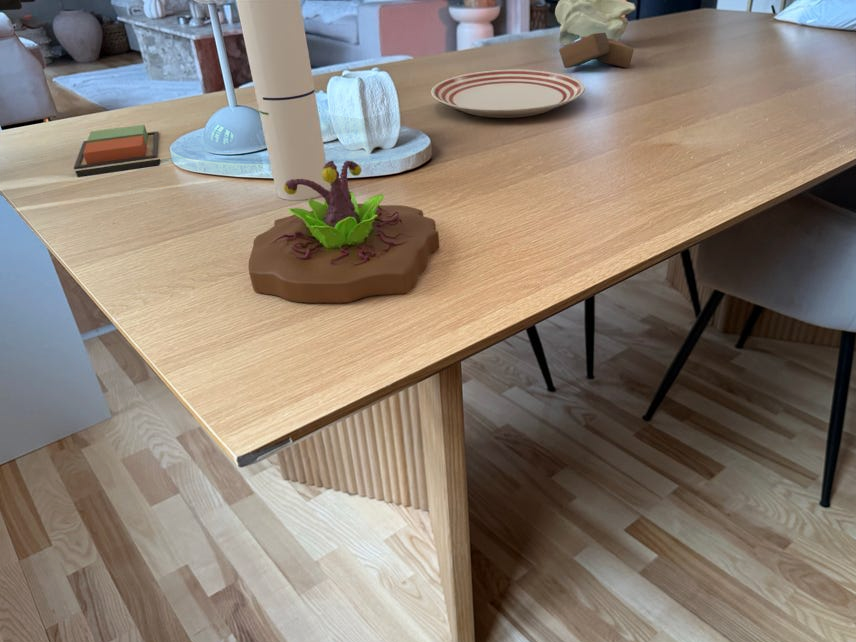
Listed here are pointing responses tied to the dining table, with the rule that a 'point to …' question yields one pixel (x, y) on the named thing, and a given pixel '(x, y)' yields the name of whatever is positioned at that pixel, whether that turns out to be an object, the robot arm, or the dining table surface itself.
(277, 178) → the cylindrical container
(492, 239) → the dining table surface
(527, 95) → the dinner plate
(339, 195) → the plant
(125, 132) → the sage pad
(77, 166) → the frame tray
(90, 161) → the terracotta pad
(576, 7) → the wavy plaster lump
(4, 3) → the robot arm
